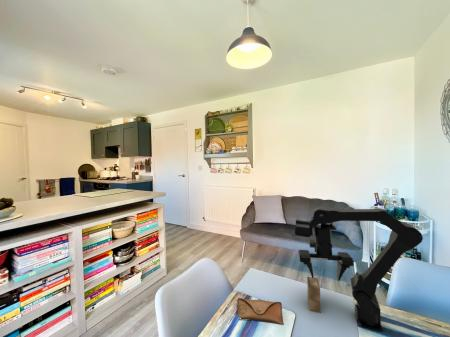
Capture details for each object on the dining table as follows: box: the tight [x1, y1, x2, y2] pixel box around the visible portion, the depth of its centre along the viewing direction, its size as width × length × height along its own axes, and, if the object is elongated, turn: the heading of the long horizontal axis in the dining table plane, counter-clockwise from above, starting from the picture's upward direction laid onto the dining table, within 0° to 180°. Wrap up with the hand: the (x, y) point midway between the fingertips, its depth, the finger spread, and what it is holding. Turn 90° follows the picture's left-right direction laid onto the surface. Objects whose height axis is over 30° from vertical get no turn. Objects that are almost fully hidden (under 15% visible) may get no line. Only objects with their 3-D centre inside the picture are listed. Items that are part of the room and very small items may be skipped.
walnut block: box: [306, 276, 322, 314], centre depth 76 cm, size 4×6×10 cm, turn 162°
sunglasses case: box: [236, 297, 285, 326], centre depth 74 cm, size 18×7×7 cm
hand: (325, 279), depth 75 cm, fingers open, 9 cm apart
